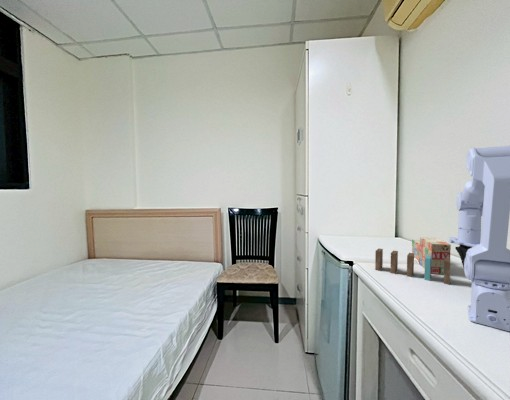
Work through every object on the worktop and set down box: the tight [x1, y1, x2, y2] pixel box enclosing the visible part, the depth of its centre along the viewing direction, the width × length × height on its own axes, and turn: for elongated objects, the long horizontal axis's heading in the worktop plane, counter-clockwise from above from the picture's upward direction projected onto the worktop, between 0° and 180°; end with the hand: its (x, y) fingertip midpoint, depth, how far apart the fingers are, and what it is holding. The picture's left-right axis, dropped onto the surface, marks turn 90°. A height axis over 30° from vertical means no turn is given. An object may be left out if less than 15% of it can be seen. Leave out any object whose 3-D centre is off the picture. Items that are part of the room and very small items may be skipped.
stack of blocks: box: [411, 236, 452, 276], centre depth 101 cm, size 21×6×12 cm, turn 163°
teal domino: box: [423, 255, 432, 281], centre depth 87 cm, size 2×5×8 cm, turn 140°
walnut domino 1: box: [374, 248, 384, 272], centre depth 98 cm, size 2×5×8 cm, turn 140°
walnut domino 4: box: [443, 257, 451, 285], centre depth 84 cm, size 2×5×8 cm, turn 140°
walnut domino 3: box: [406, 252, 415, 278], centre depth 91 cm, size 2×5×8 cm, turn 140°
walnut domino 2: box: [390, 250, 399, 275], centre depth 94 cm, size 2×5×8 cm, turn 140°
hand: (468, 268), depth 80 cm, fingers closed
